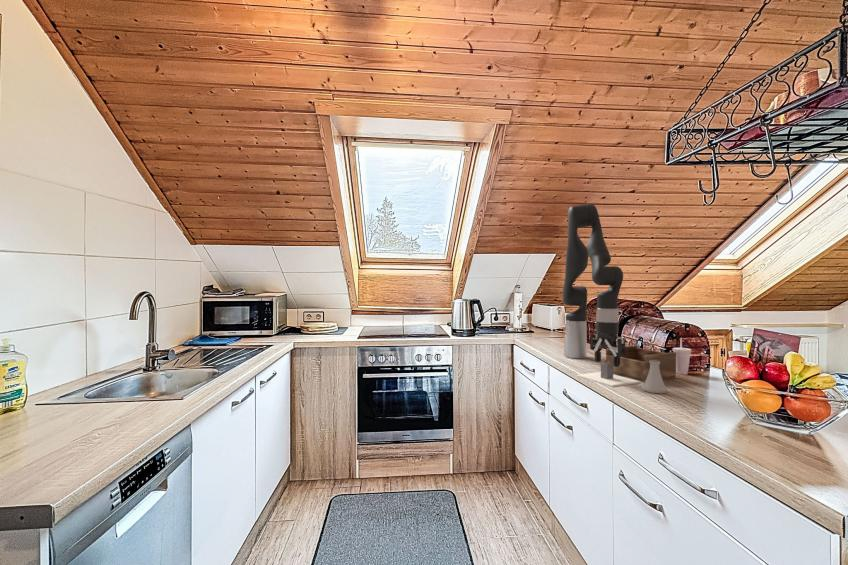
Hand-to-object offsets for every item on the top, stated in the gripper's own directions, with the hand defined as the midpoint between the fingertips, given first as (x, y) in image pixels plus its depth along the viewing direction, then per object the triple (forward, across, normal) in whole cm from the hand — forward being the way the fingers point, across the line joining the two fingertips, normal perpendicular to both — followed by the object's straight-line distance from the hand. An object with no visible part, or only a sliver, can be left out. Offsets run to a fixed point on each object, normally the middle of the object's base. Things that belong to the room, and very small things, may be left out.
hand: (607, 364), depth 158 cm
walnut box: (+6, 0, +17) cm, 18 cm away
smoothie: (+6, +5, +34) cm, 35 cm away
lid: (+6, 0, 0) cm, 6 cm away
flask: (+6, +18, +2) cm, 19 cm away
